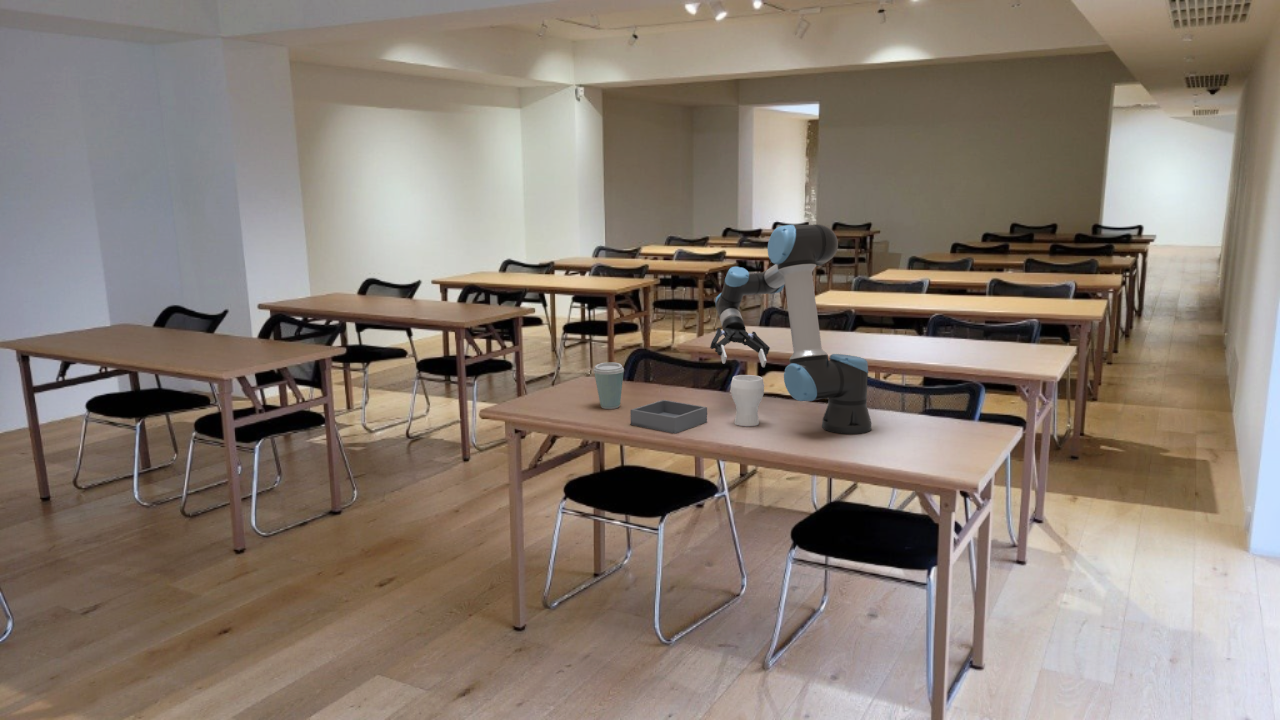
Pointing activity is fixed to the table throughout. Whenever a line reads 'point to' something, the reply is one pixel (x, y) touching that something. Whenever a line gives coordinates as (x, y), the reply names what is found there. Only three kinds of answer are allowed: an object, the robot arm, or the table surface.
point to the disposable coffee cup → (609, 384)
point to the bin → (668, 416)
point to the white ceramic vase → (747, 398)
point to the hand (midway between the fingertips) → (744, 362)
